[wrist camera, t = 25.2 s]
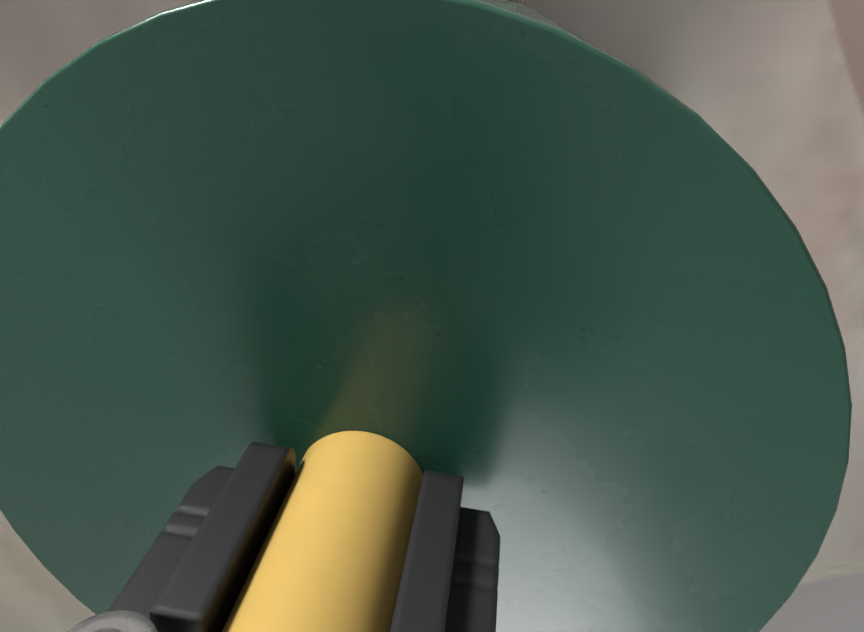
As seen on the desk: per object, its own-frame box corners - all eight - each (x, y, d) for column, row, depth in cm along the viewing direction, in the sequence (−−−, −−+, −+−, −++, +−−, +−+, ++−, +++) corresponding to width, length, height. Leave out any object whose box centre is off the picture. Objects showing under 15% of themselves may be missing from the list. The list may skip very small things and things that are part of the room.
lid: (-128, -76, 10) (-950, -146, 4) (1017, 52, 9) (1860, 175, 3) (61, 630, 18) (-148, 921, 12) (676, 747, 16) (750, 1128, 11)
